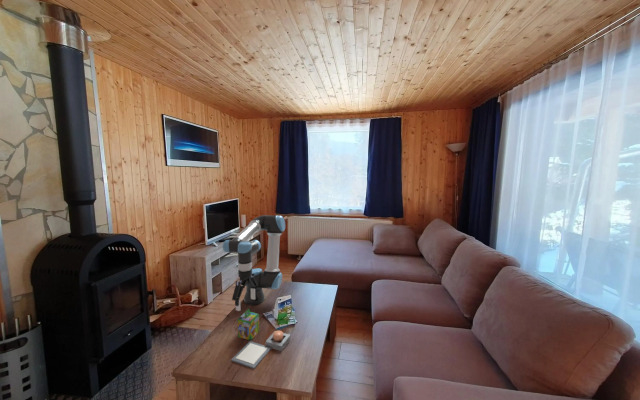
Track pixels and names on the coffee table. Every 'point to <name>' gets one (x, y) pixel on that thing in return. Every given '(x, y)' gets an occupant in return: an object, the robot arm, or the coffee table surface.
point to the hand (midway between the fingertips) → (245, 304)
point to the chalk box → (248, 325)
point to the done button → (277, 335)
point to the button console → (276, 345)
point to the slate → (251, 354)
